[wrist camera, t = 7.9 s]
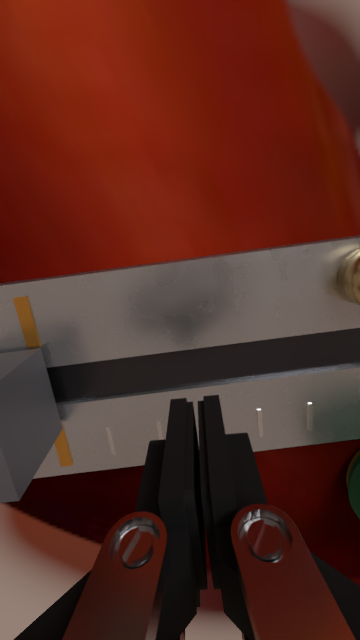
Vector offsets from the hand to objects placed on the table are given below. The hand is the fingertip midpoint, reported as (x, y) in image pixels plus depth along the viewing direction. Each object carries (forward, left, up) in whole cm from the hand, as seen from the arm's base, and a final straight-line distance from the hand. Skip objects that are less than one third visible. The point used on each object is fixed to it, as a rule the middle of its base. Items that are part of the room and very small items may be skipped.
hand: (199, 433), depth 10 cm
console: (-1, 0, -8) cm, 8 cm away
